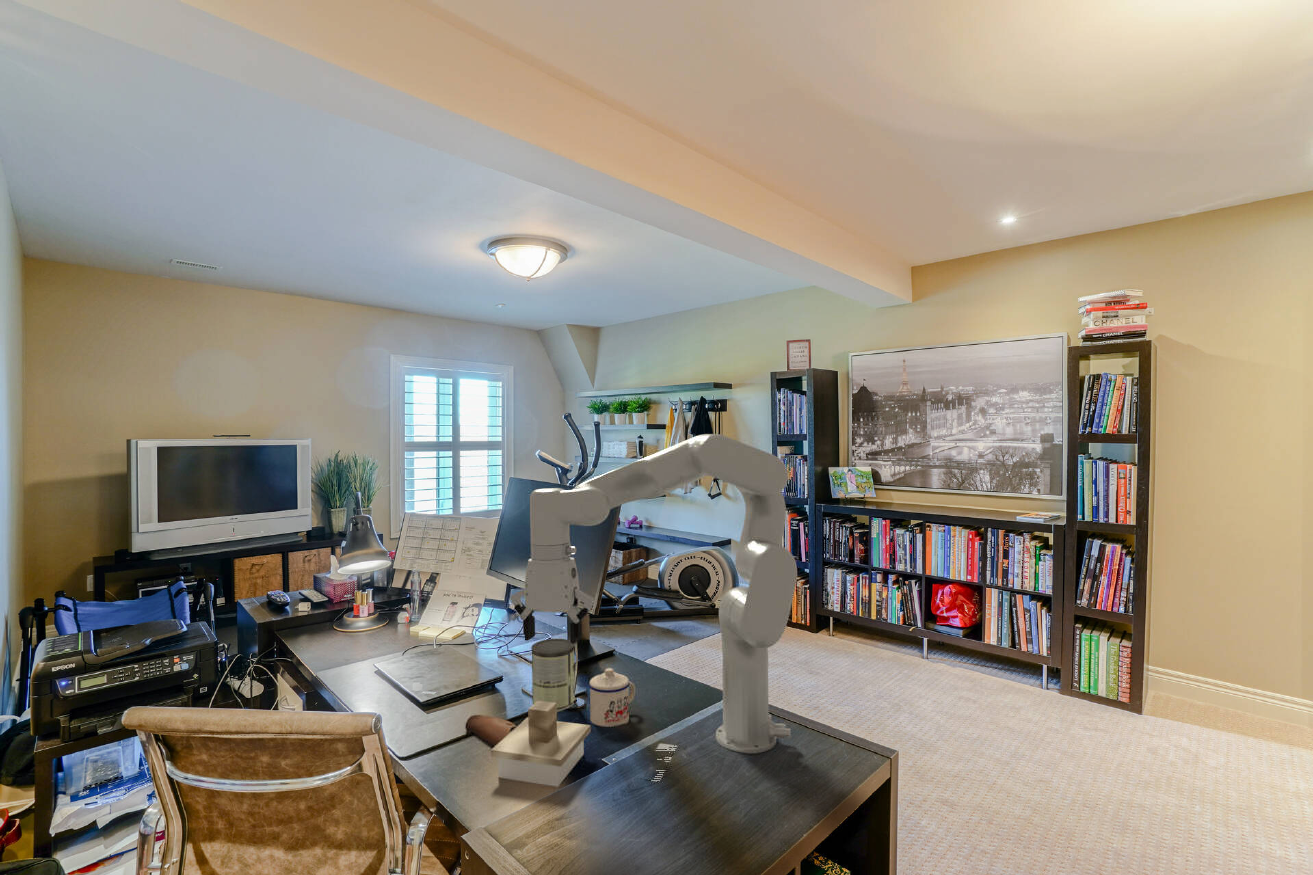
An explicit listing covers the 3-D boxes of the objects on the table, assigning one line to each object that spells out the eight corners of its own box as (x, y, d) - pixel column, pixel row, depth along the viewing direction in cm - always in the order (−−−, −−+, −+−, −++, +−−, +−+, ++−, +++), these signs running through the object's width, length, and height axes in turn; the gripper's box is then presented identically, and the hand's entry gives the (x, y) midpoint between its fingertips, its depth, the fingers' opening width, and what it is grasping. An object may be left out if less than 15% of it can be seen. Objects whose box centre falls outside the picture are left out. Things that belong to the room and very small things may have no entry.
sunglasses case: (543, 745, 129) (529, 723, 127) (518, 774, 125) (503, 751, 122) (499, 718, 142) (485, 697, 139) (474, 743, 138) (459, 722, 135)
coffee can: (527, 699, 152) (526, 642, 152) (567, 692, 156) (567, 636, 157) (538, 716, 143) (537, 654, 143) (581, 707, 147) (580, 648, 147)
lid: (590, 731, 124) (590, 695, 124) (560, 766, 111) (560, 726, 111) (527, 723, 128) (527, 688, 128) (491, 756, 115) (490, 717, 115)
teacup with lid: (607, 734, 134) (606, 680, 134) (581, 721, 140) (580, 669, 140) (647, 717, 142) (647, 665, 142) (621, 705, 148) (621, 656, 149)
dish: (583, 758, 124) (583, 732, 124) (557, 790, 112) (557, 762, 112) (529, 750, 127) (528, 725, 127) (498, 781, 116) (498, 754, 116)
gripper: (599, 549, 123) (601, 636, 123) (519, 547, 127) (521, 631, 127) (584, 557, 115) (586, 649, 115) (501, 554, 120) (503, 643, 120)
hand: (552, 639), depth 121 cm, fingers open, 9 cm apart
